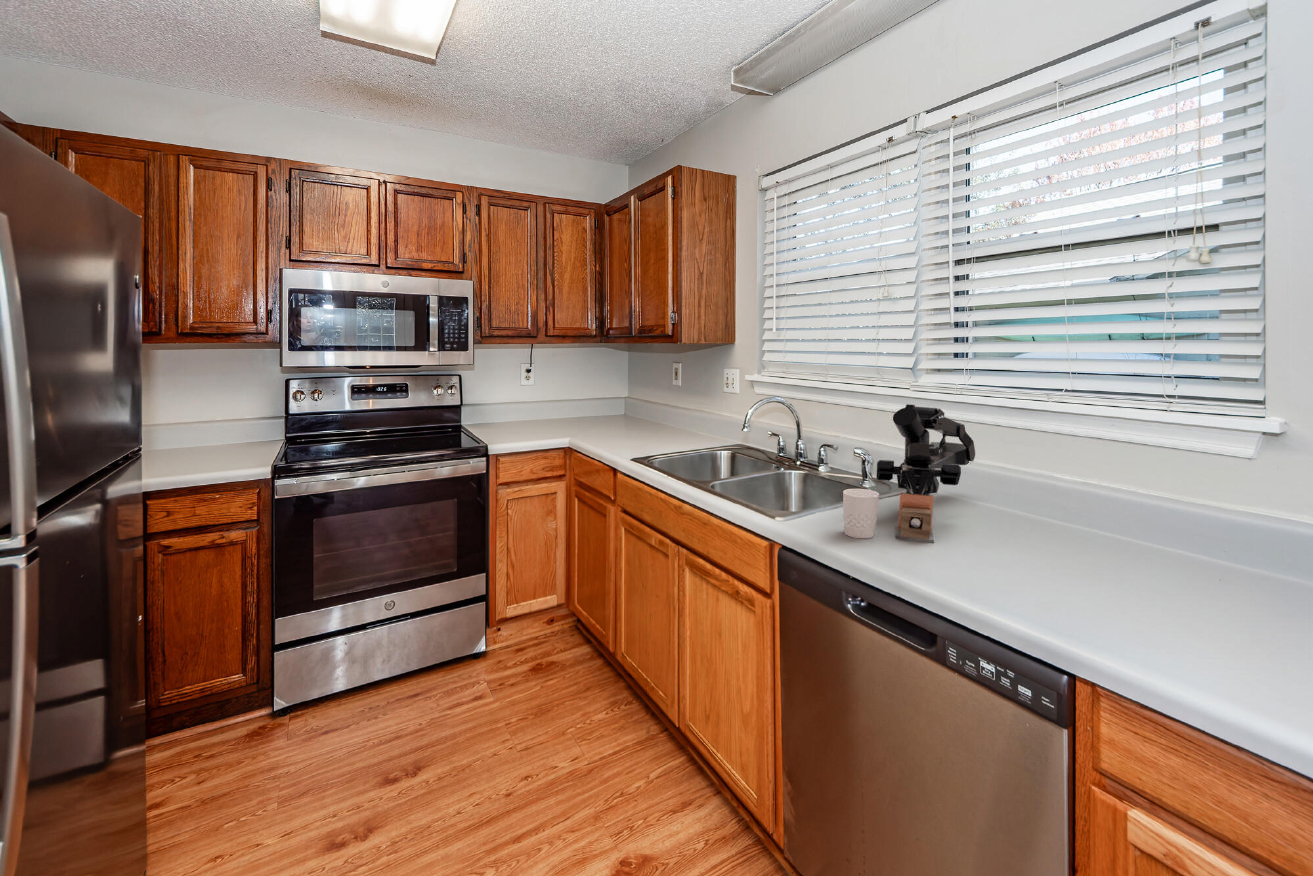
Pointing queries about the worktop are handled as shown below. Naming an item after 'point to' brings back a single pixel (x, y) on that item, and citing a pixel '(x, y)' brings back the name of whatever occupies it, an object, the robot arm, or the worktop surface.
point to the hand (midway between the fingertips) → (917, 501)
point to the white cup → (860, 512)
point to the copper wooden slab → (915, 506)
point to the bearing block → (915, 532)
